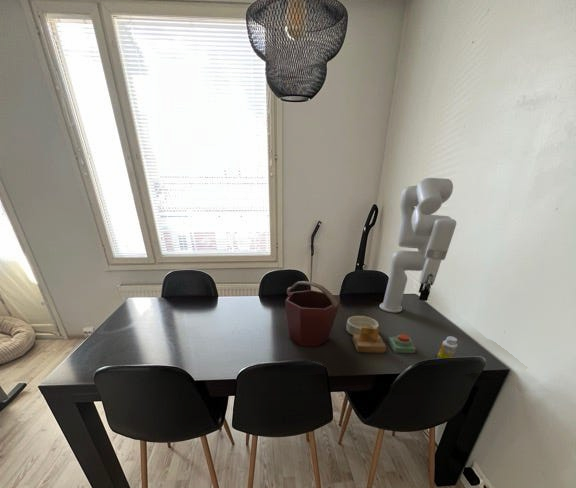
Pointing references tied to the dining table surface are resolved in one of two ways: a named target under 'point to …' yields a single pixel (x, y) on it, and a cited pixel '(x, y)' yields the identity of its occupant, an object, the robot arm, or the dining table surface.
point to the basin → (359, 324)
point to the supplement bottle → (448, 348)
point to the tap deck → (369, 344)
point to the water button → (403, 338)
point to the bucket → (310, 314)
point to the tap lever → (369, 332)
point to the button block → (401, 345)
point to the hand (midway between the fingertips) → (422, 296)
